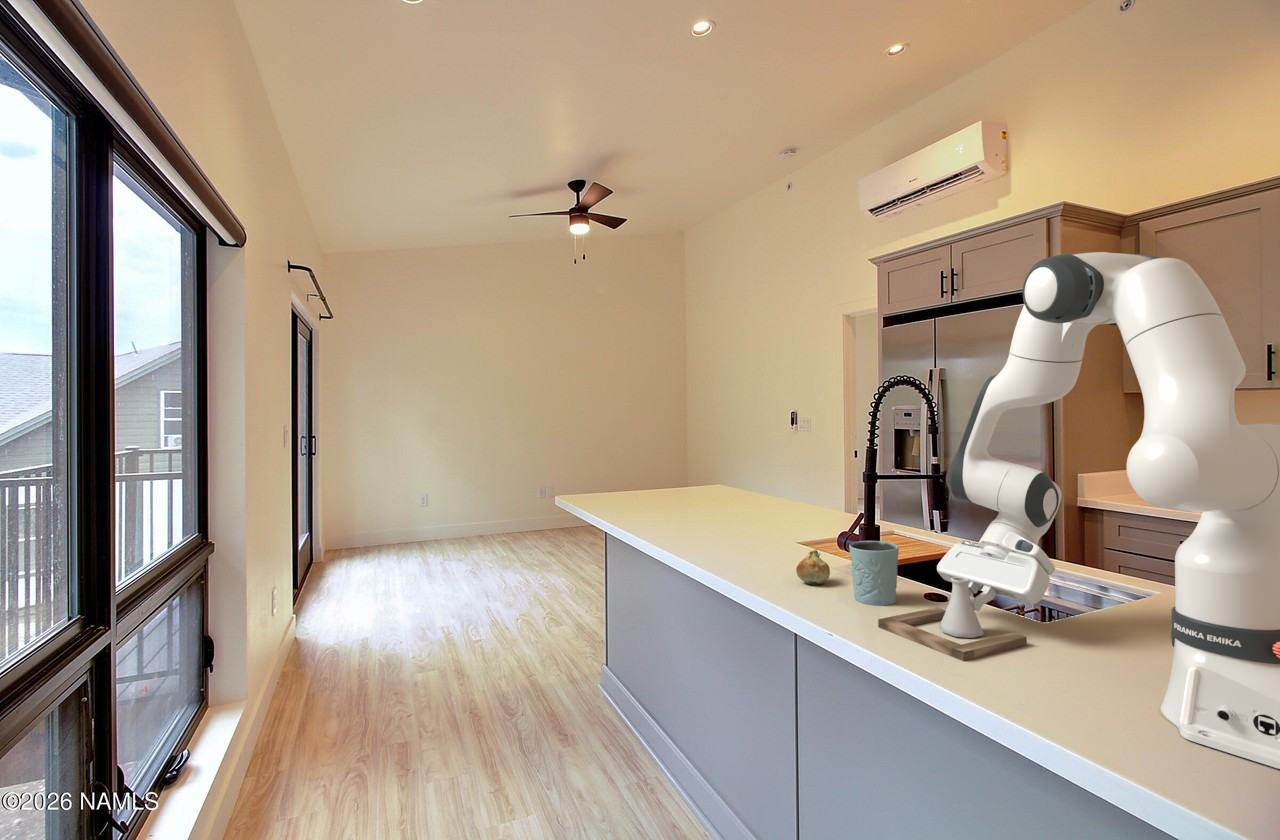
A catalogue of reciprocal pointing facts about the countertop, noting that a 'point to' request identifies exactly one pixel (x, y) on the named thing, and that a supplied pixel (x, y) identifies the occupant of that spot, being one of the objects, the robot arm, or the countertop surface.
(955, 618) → the flask
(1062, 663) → the countertop surface
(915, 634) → the walnut bay
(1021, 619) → the countertop surface
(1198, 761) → the countertop surface
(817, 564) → the onion
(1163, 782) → the countertop surface
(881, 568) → the blue embossed cup
